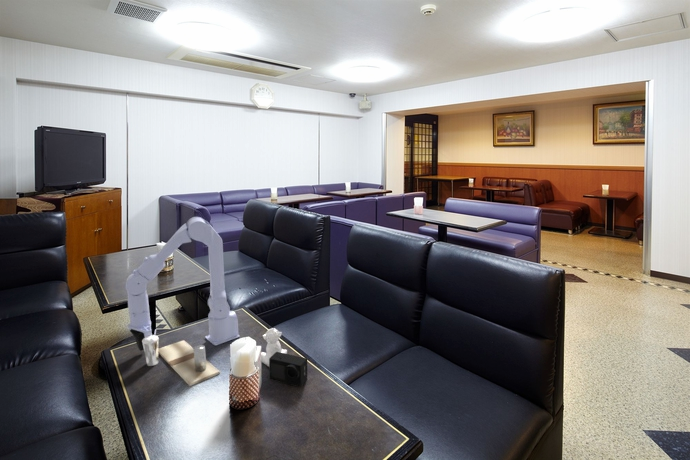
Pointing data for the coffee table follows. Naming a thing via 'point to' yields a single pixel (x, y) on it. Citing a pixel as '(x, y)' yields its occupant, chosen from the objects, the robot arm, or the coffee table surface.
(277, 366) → the digital camera
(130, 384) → the coffee table surface
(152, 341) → the white rounded piece
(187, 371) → the plywood panel
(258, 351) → the ink cartridge box
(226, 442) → the coffee table surface
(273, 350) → the seated beast figurine
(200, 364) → the steel peg
